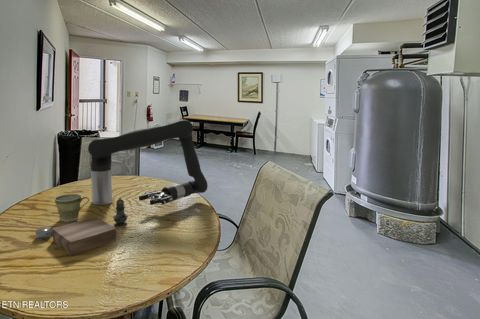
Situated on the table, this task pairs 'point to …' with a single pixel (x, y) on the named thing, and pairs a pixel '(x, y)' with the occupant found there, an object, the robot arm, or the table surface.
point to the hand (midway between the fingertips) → (144, 200)
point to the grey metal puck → (43, 233)
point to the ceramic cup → (69, 206)
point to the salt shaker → (120, 214)
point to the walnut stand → (84, 235)
